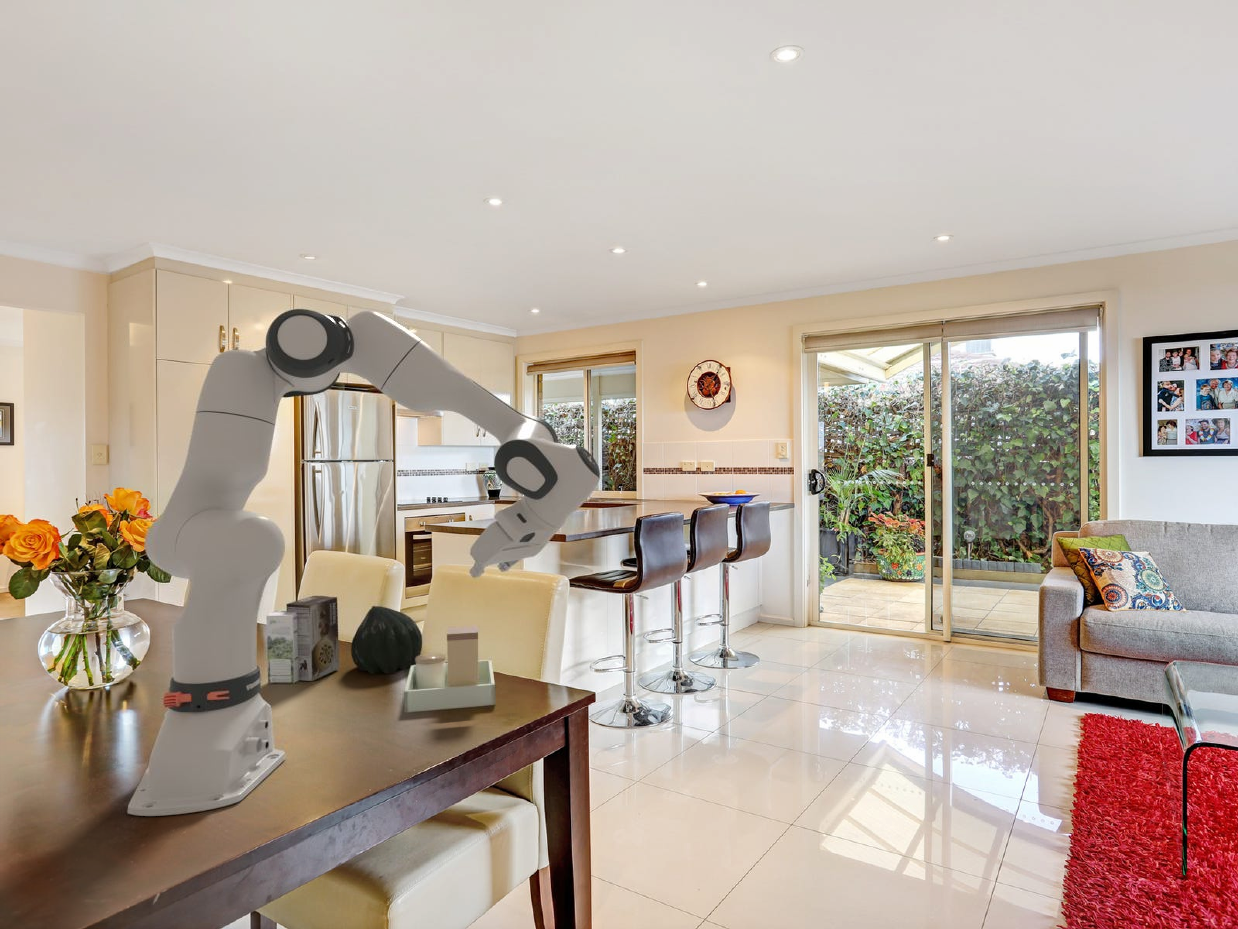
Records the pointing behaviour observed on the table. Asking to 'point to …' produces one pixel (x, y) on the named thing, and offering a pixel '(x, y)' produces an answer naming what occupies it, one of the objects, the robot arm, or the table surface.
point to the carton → (462, 656)
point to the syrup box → (282, 647)
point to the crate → (451, 692)
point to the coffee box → (316, 636)
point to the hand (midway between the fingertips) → (488, 572)
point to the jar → (430, 671)
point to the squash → (386, 641)
